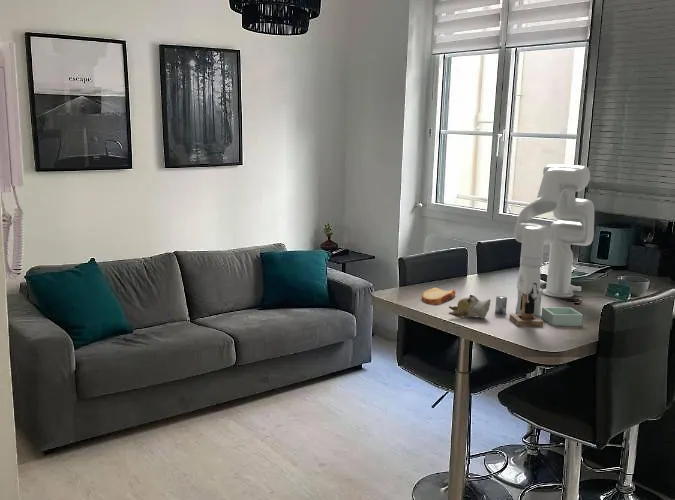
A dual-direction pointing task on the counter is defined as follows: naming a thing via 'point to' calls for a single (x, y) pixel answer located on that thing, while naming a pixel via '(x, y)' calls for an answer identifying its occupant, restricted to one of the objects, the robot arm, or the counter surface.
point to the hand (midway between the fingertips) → (526, 311)
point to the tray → (562, 316)
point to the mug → (536, 307)
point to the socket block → (526, 321)
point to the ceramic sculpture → (471, 307)
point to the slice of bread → (437, 296)
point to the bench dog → (501, 305)
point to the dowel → (523, 314)
